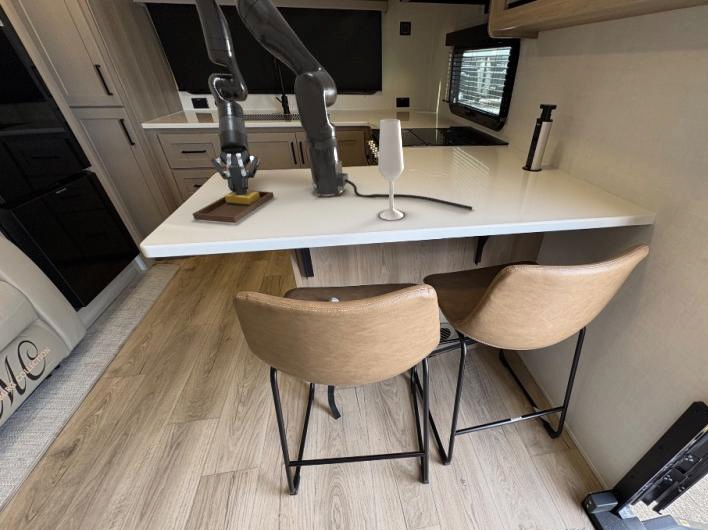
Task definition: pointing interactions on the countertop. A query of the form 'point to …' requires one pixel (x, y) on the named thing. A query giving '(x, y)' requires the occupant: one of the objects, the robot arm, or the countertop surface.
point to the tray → (230, 209)
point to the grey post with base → (240, 190)
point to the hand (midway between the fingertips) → (239, 190)
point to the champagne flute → (390, 160)
